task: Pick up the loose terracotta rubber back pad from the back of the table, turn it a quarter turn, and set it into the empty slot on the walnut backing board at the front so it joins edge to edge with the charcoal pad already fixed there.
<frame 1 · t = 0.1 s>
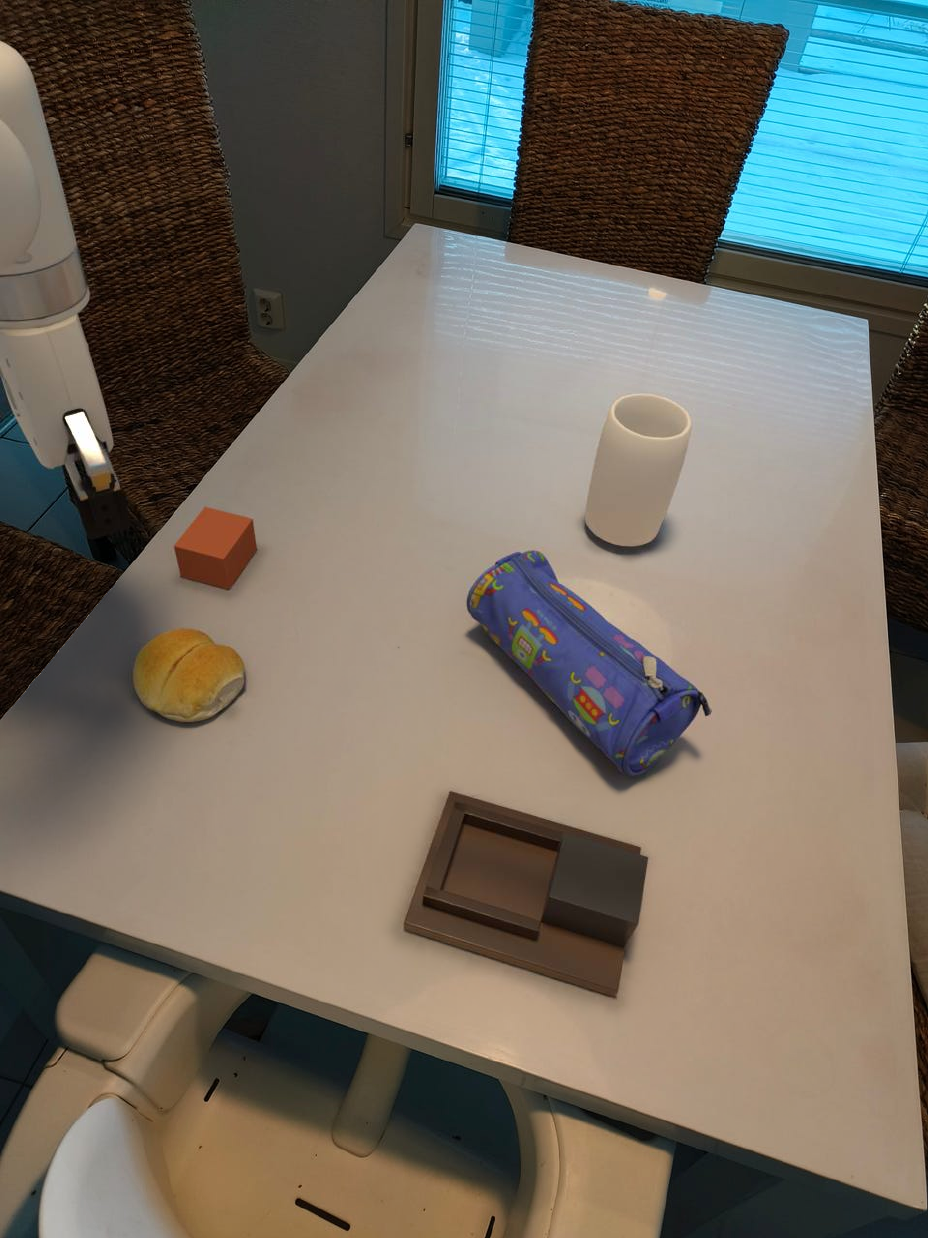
hand: (88, 494, 65), 15 cm above the table, tool pointing down, fingers open, 9 cm apart
cup: (619, 531, 90), on the table
back pad: (219, 563, 82), on the table
pencil case: (569, 689, 75), on the table
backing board: (525, 890, 62), on the table
bread roll: (192, 685, 72), on the table
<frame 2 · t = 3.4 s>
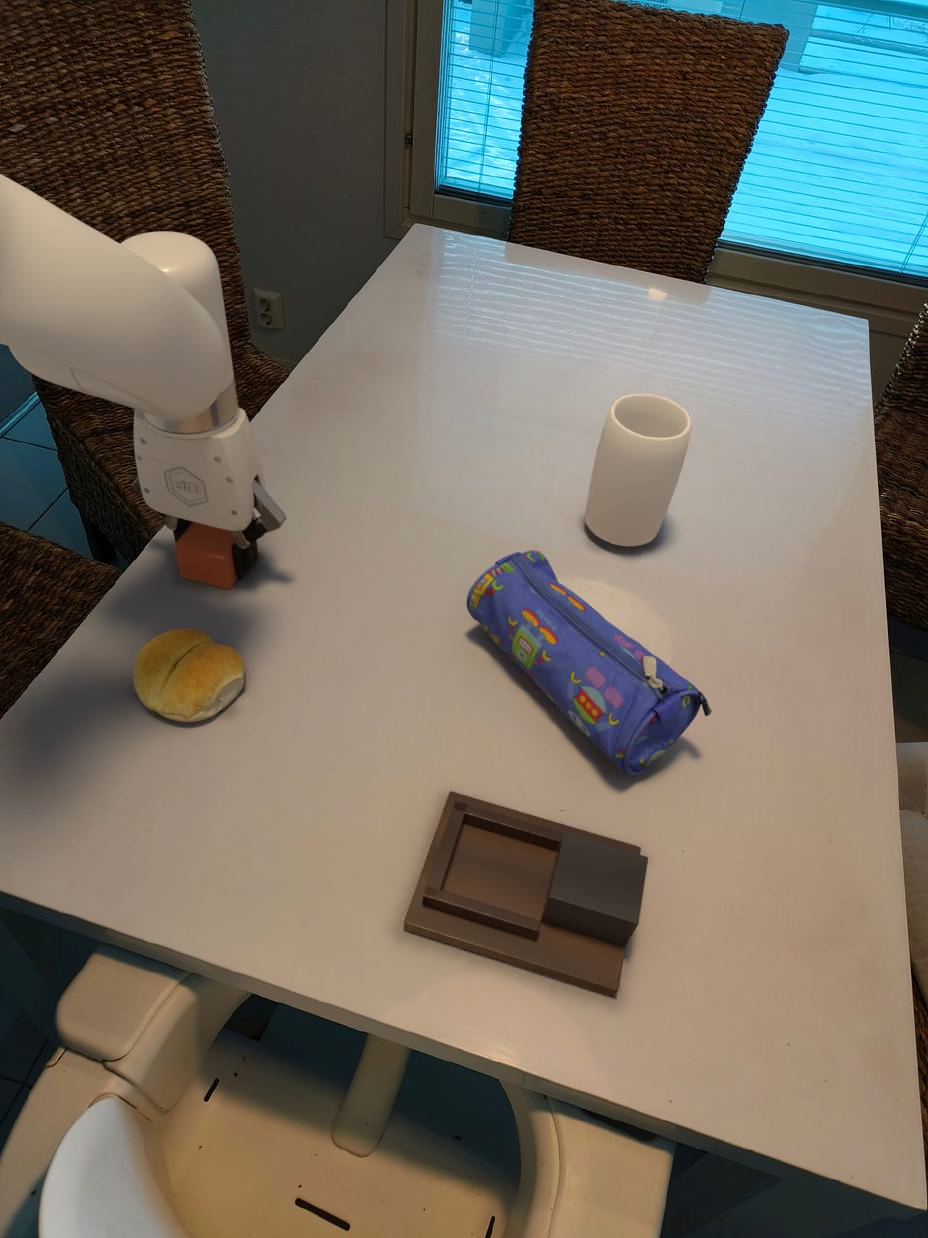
hand: (219, 559, 82), 0 cm above the table, tool pointing down, fingers closed on back pad, 5 cm apart
back pad: (219, 563, 82), on the table, touching gripper
everything else where it was.
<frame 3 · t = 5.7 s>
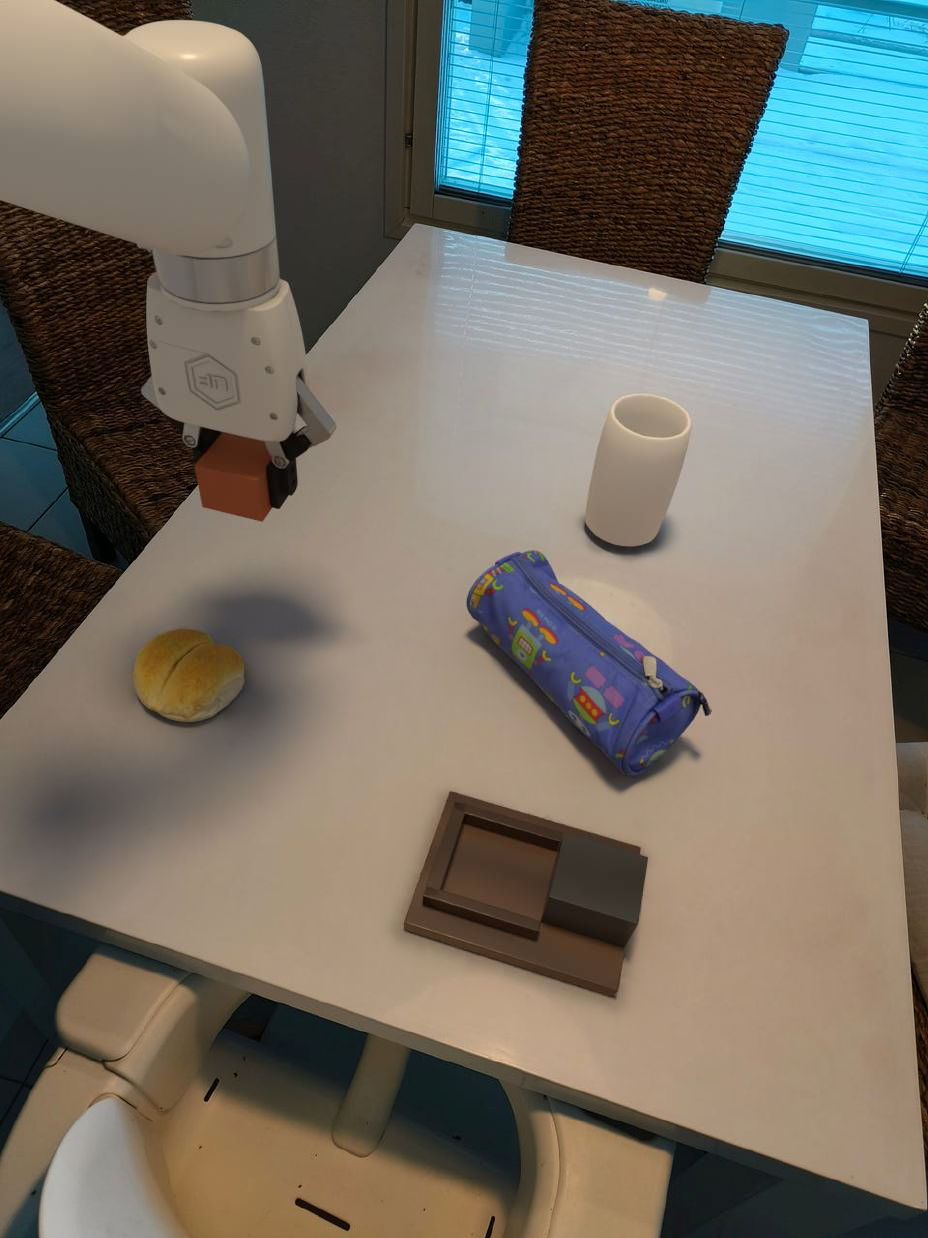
hand: (248, 487, 67), 15 cm above the table, tool pointing down, fingers closed on back pad, 5 cm apart
back pad: (249, 491, 67), point 15 cm above the table, touching gripper
everything else where it was.
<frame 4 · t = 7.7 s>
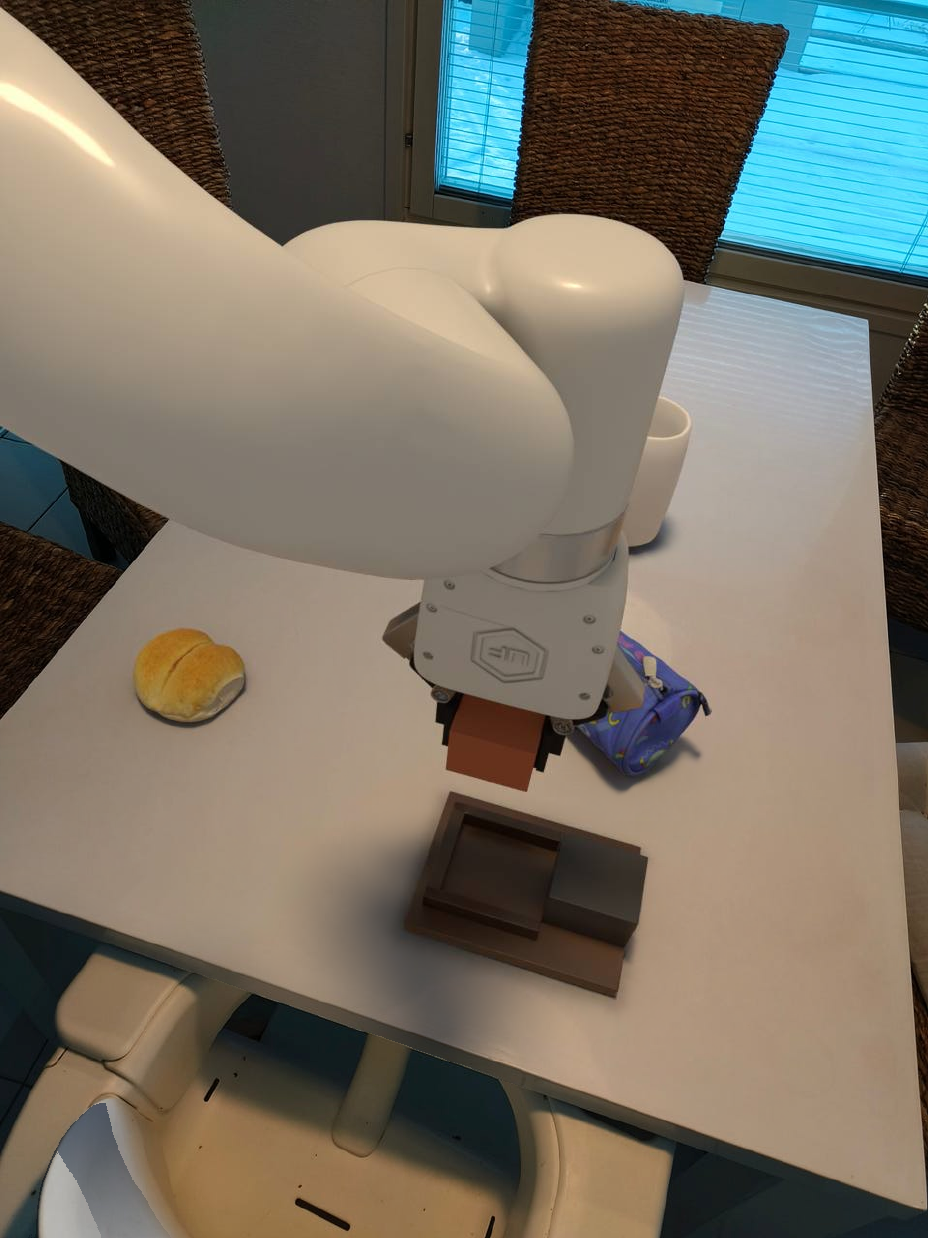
hand: (498, 738, 52), 15 cm above the table, tool pointing down, fingers closed on back pad, 5 cm apart
back pad: (497, 741, 52), point 15 cm above the table, touching gripper
everything else where it was.
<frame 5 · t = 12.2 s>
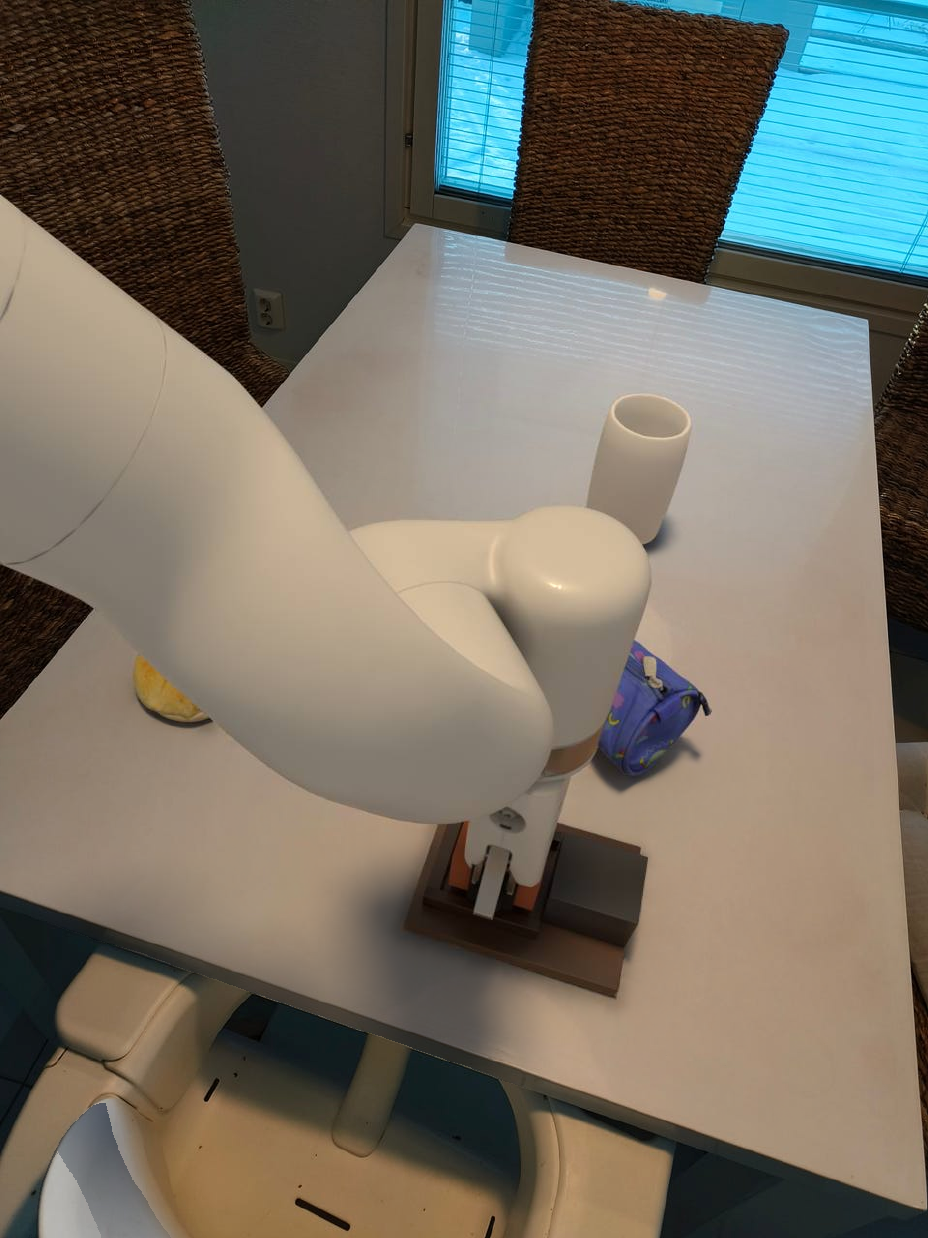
hand: (500, 863, 60), 3 cm above the table, tool pointing down, fingers closed on back pad, 5 cm apart
back pad: (498, 866, 60), point 3 cm above the table, touching gripper
everything else where it was.
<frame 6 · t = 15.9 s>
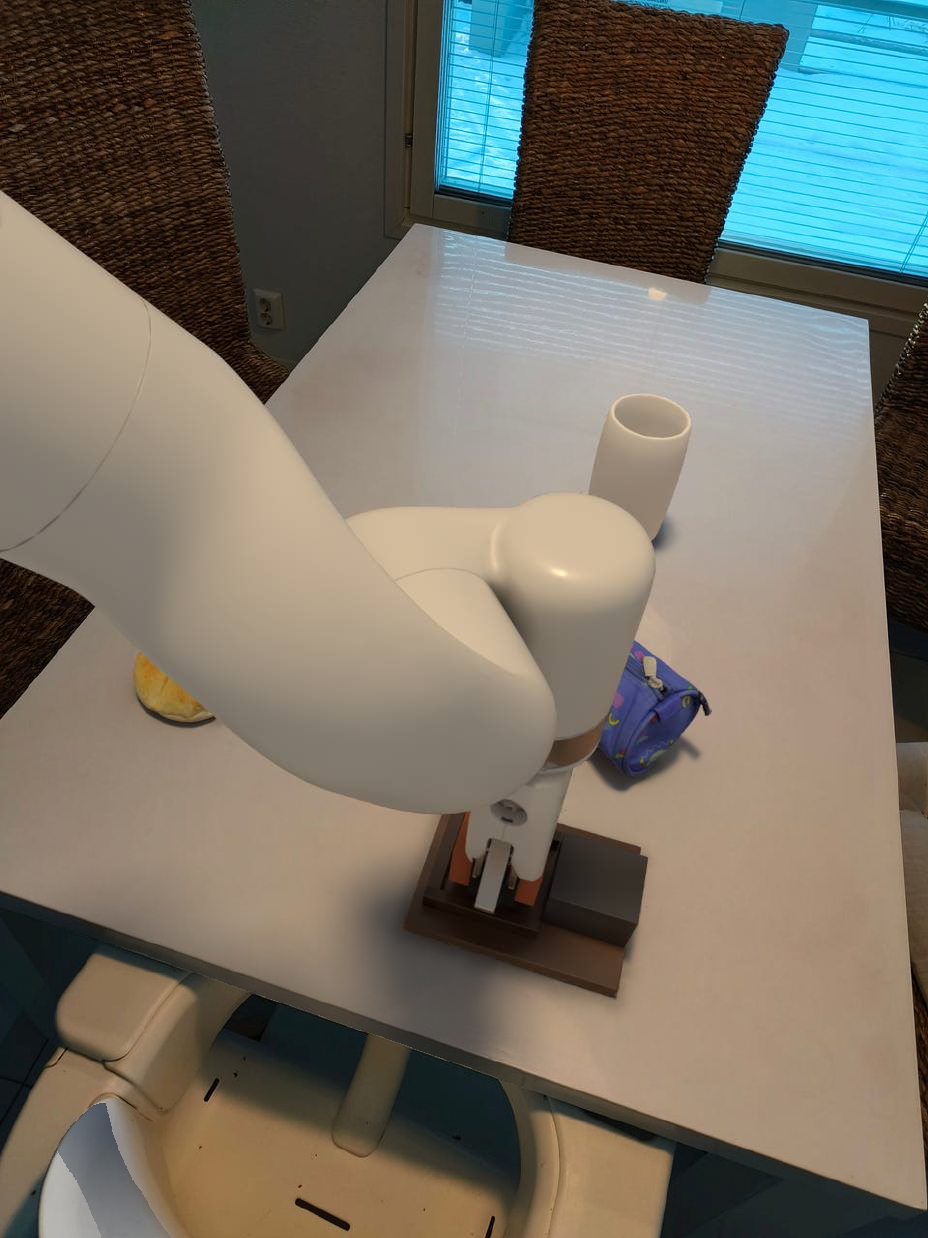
hand: (501, 858, 59), 4 cm above the table, tool pointing down, fingers closed on back pad, 4 cm apart
back pad: (499, 861, 60), point 3 cm above the table, touching gripper
everything else where it was.
when the fingers open (4 cm above the table, at t = 19.3 s): back pad drops 2 cm, resting on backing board.
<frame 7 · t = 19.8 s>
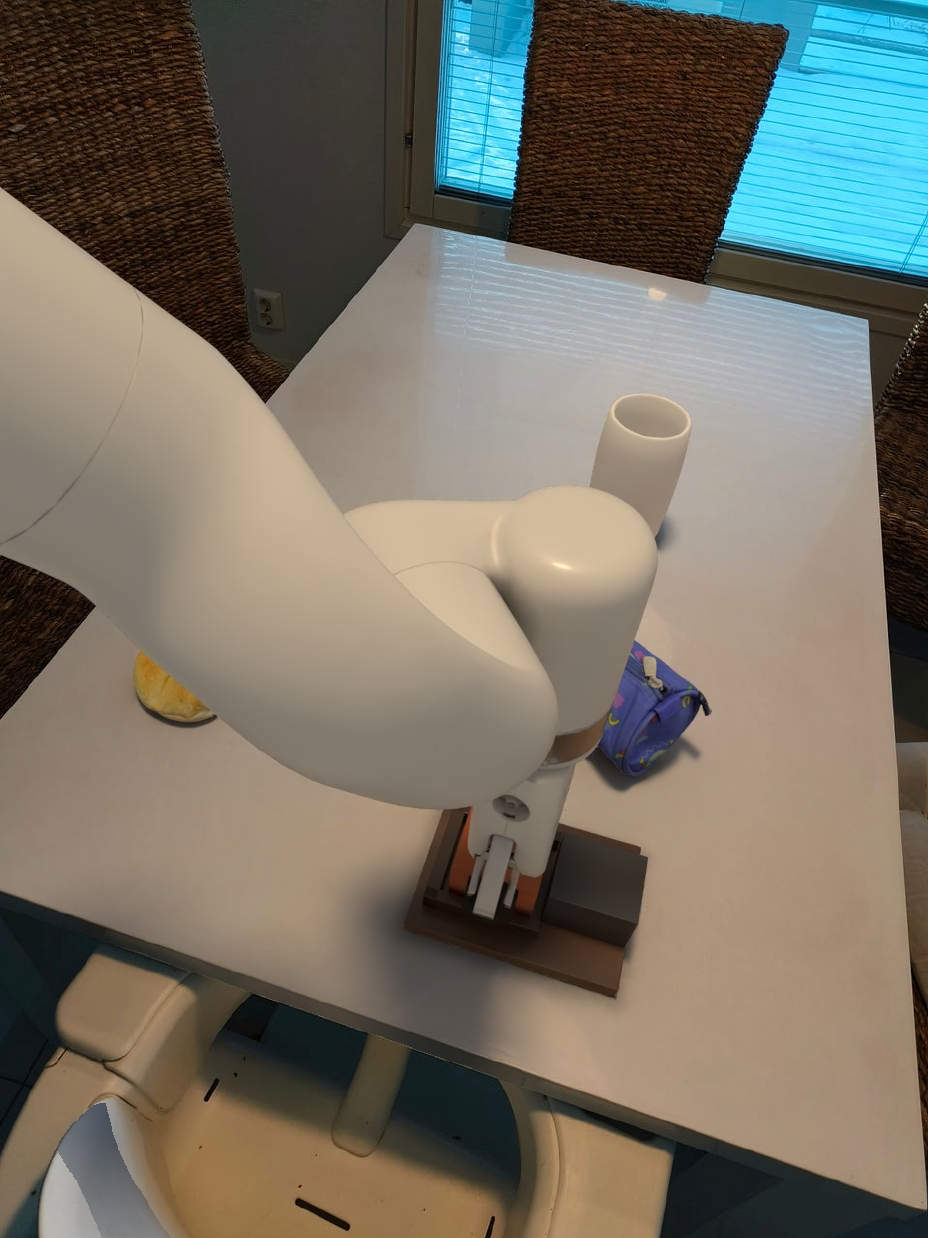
hand: (505, 848, 58), 5 cm above the table, tool pointing down, fingers open, 9 cm apart
back pad: (497, 874, 61), point 1 cm above the table, touching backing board
everything else where it was.
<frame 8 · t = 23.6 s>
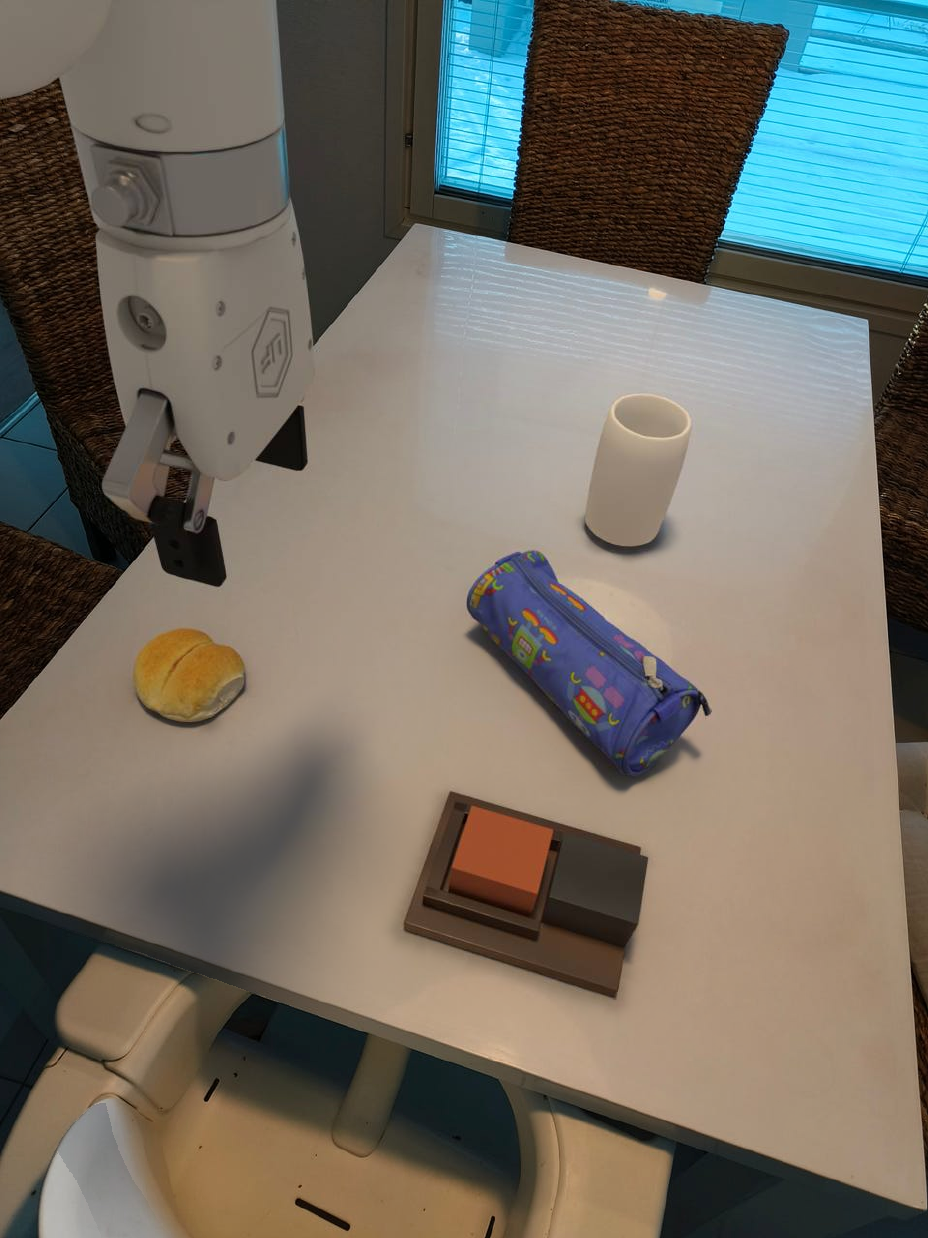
hand: (240, 515, 45), 28 cm above the table, tool pointing down, fingers open, 9 cm apart
nothing on the table moved.
at the end: back pad 0.2 cm from the target spot on the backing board, point 1.2 cm above the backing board's base; back pad tilted 0°; the gripper is holding nothing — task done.
